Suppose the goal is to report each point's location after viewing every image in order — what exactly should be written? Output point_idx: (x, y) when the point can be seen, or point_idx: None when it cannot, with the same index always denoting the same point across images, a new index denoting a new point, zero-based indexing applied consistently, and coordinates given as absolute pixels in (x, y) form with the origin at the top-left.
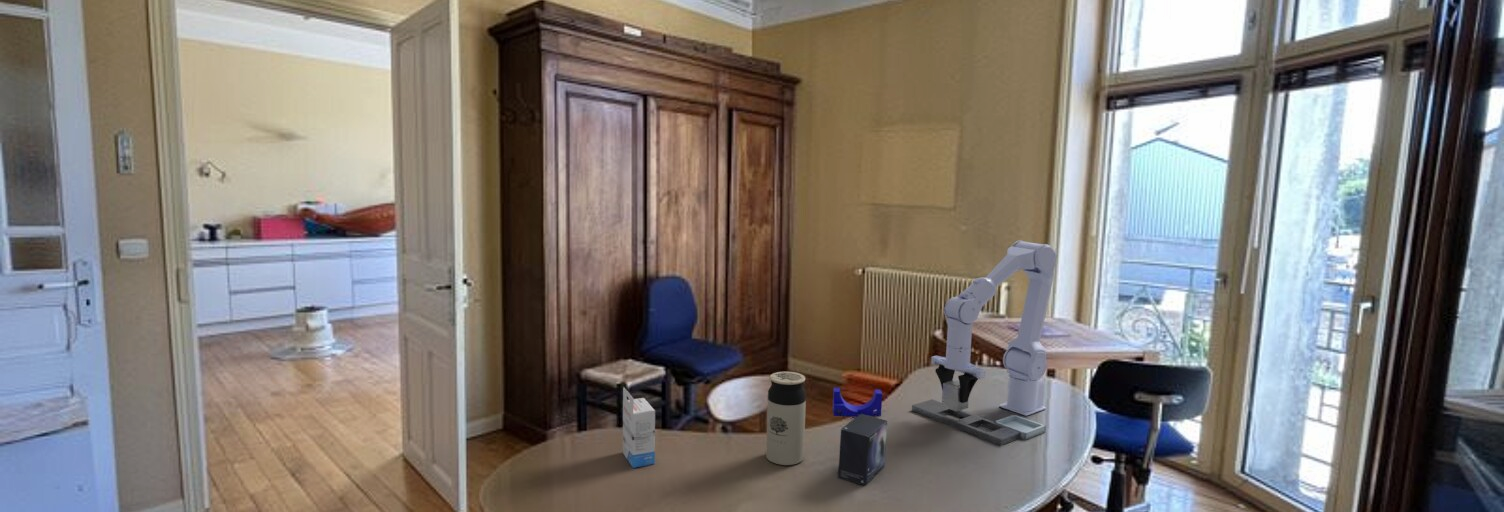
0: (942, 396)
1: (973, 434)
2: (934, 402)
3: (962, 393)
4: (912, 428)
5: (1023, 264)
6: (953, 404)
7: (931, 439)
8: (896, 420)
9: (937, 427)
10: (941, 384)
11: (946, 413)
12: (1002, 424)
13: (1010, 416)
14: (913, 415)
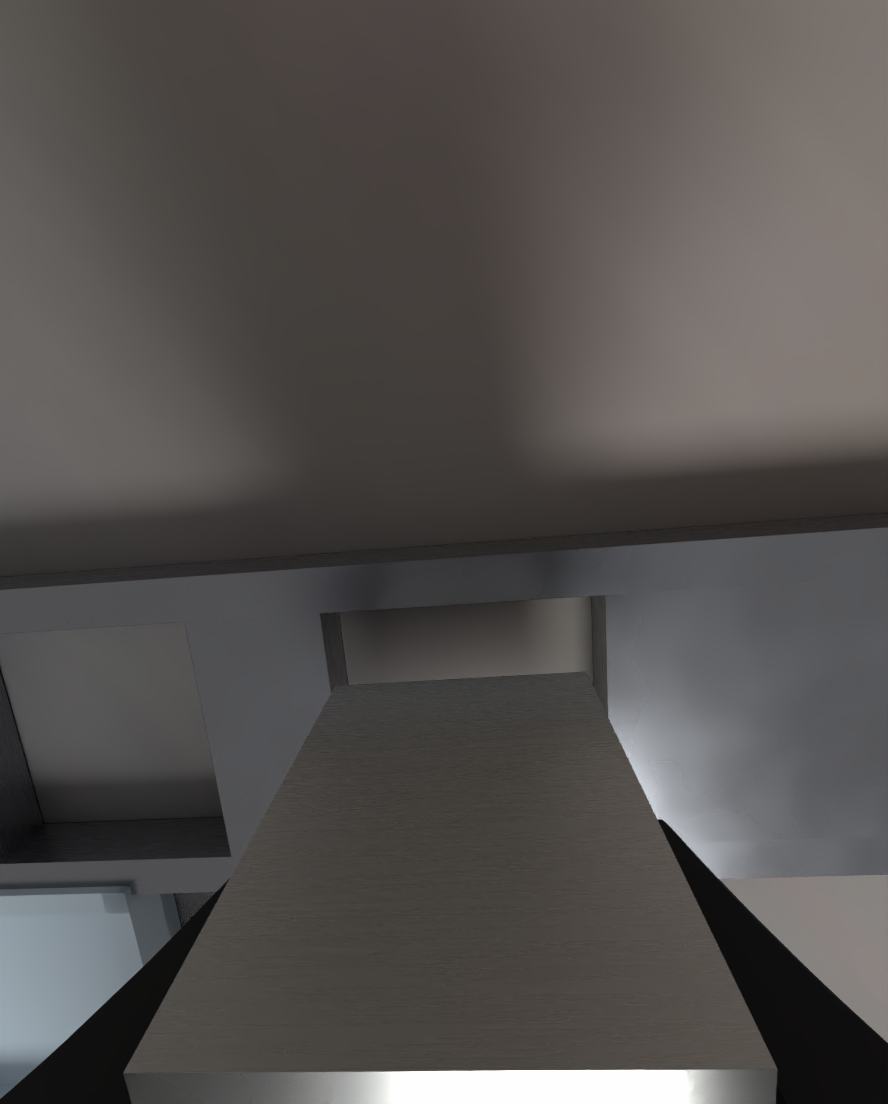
0: (620, 756)
1: (104, 571)
2: (846, 821)
3: (145, 978)
4: (518, 64)
5: None
6: (379, 728)
7: (164, 27)
8: (822, 62)
9: (398, 385)
10: (842, 1022)
11: None
12: (36, 898)
13: None
14: (798, 408)
